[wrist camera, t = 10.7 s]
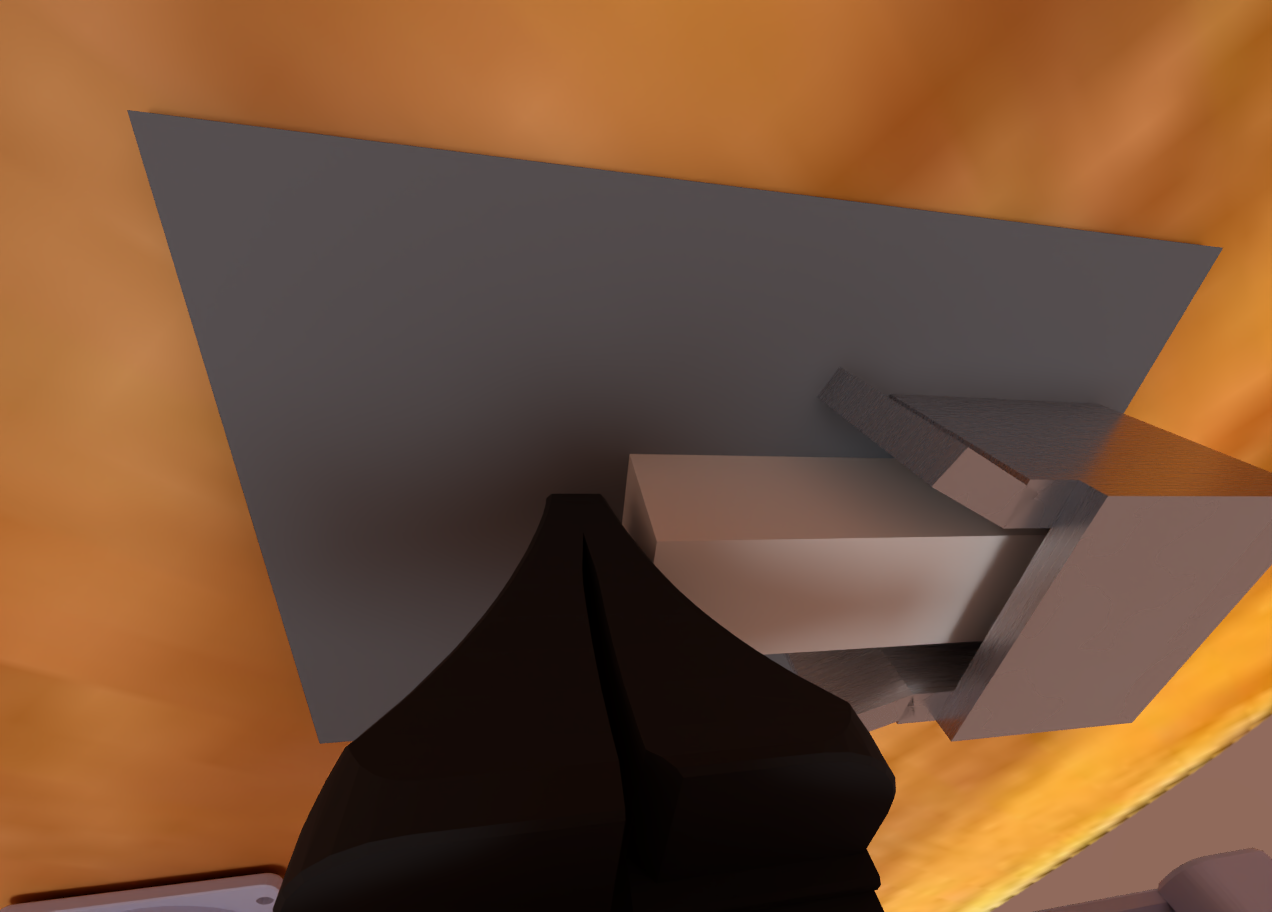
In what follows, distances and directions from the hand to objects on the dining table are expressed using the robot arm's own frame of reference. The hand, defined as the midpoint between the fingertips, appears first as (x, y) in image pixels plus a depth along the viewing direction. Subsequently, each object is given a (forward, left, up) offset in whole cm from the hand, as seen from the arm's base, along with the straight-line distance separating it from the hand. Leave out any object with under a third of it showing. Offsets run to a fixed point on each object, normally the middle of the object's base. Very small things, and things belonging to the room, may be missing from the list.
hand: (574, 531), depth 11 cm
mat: (0, -4, -1) cm, 4 cm away
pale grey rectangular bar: (0, -7, -1) cm, 7 cm away
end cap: (0, -10, -1) cm, 10 cm away
